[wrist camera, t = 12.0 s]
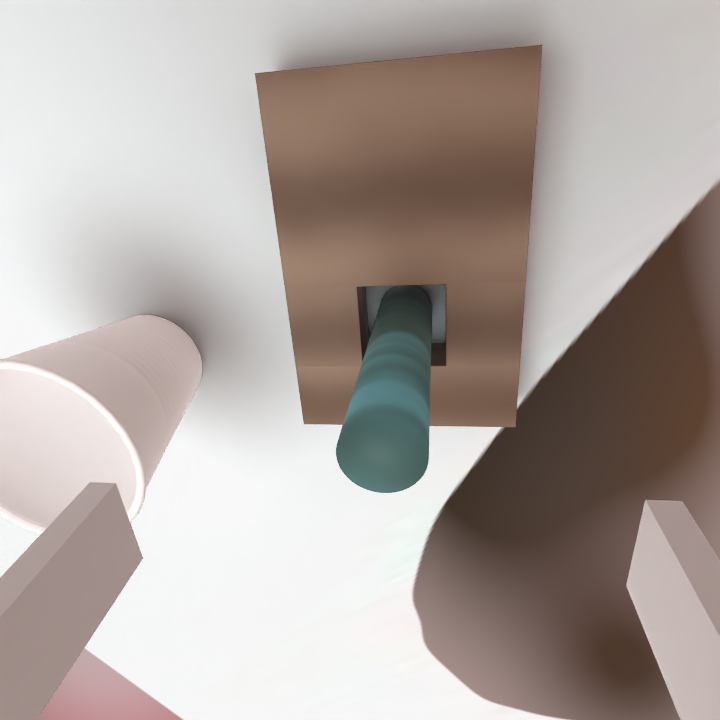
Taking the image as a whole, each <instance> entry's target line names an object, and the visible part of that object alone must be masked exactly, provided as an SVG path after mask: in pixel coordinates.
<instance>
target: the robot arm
mask: <svg viewBox="0 0 720 720" xmlns="http://www.w3.org/2000/svg"><path fill="white" fill-rule="evenodd" d="M142 559H143V557H142V554H141V552H140V549H139V546H138V543H137V540H136V538H135V535H134V532H133V529H132V527H131V524H130V521H129V518H128V515H127V513H126V510H125V507H124V504H123V502H122V499H121V496H120V493H119V490H118V488H117V485H116V483H101V482H89V483H88V485H87V486H86V487H85V488H84V489H83V490H82V491H81V492H80V493H79V494H78V495H77V496H76V497H75V498H74V500H73V501H72V502H71V503H70V504H69V505H68V506H67V507H66V508H65V509H64V510H63V511H62V512H61V513H60V515H59V516H58V517H57V518H56V519H55V520H54V521H53V522H52V523H51V524H50V525H49V526H48V527H47V528H46V530H45V531H44V532H43V533H42V534H41V535H40V536H39V537H38V538H37V539H36V540H35V541H34V542H33V543H32V545H31V546H30V547H29V548H28V549H27V550H26V551H25V552H24V553H23V554H22V555H21V556H20V557H19V558H18V560H17V561H16V562H15V563H14V564H13V565H12V566H11V567H10V568H9V569H8V570H7V571H6V572H5V573H4V575H3V576H2V577H1V578H0V720H37V719H38V717H39V716H40V714H41V713H42V711H43V710H44V708H45V707H46V705H47V704H48V702H49V701H50V699H51V698H52V696H53V695H54V693H55V692H56V690H57V689H58V687H59V685H60V684H61V682H62V681H63V679H64V678H65V676H66V675H67V673H68V672H69V670H70V669H71V667H72V666H73V664H74V663H75V661H76V660H77V658H78V656H79V655H80V653H81V652H82V650H83V649H84V647H85V646H86V644H87V643H88V641H89V640H90V638H91V637H92V635H93V634H94V632H95V631H96V629H97V627H98V626H99V624H100V623H101V621H102V620H103V618H104V617H105V615H106V614H107V612H108V611H109V609H110V608H111V606H112V605H113V603H114V602H115V600H116V598H117V597H118V595H119V594H120V592H121V591H122V589H123V588H124V586H125V585H126V583H127V582H128V580H129V579H130V577H131V576H132V574H133V572H134V571H135V569H136V568H137V566H138V565H139V563H140V562H141V560H142ZM626 586H627V589H628V591H629V594H630V596H631V598H632V601H633V603H634V606H635V608H636V611H637V613H638V616H639V618H640V621H641V623H642V625H643V628H644V631H645V633H646V636H647V638H648V640H649V643H650V645H651V648H652V650H653V653H654V655H655V658H656V660H657V663H658V665H659V667H660V670H661V672H662V675H663V677H664V680H665V682H666V685H667V687H668V690H669V692H670V695H671V697H672V700H673V702H674V705H675V707H676V709H677V712H678V714H679V717H680V719H681V720H720V560H719V559H718V557H717V555H716V554H715V552H714V551H713V549H712V547H711V546H710V544H709V543H708V541H707V540H706V538H705V537H704V535H703V533H702V532H701V530H700V529H699V527H698V526H697V524H696V522H695V521H694V519H693V518H692V516H691V515H690V513H689V511H688V510H687V508H686V507H685V505H684V503H683V502H682V501H660V500H645V504H644V508H643V513H642V518H641V522H640V526H639V531H638V535H637V540H636V544H635V549H634V553H633V558H632V562H631V566H630V571H629V575H628V580H627V584H626Z"/></svg>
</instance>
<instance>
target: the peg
mask: <svg viewBox="0 0 720 720" xmlns="http://www.w3.org/2000/svg"><path fill="white" fill-rule="evenodd" d="M431 337H432V304H431V301H430V299H429V297H428V296H427V294H426V293H425V292H424V291H423V290H421V289H420V288H418V287H415V286H412V285H399V286H396V287H394V288H392V289H390V290H389V291H388V292H387V293H386V294H385V295H384V297H383V298H382V300H381V303H380V307H379V310H378V313H377V316H376V320H375V323H374V326H373V329H372V333H371V336H370V339H369V342H368V346H367V349H366V352H365V355H364V358H363V362H362V365H361V368H360V371H359V375H358V378H357V381H356V384H355V388H354V391H353V394H352V397H351V401H350V404H349V407H348V410H347V414H346V417H345V420H344V423H343V427H342V430H341V433H340V436H339V440H338V443H337V448H336V456H337V460H338V463H339V466H340V468H341V470H342V471H343V472H344V474H345V475H346V476H347V477H348V478H349V479H350V480H351V481H352V482H354V483H355V484H357V485H358V486H360V487H362V488H365V489H367V490H370V491H374V492H381V493H391V492H398V491H402V490H404V489H407V488H409V487H411V486H412V485H414V484H415V483H416V482H418V481H419V480H420V479H421V477H422V476H423V475H424V473H425V471H426V469H427V465H428V458H429V419H430V378H431Z"/></svg>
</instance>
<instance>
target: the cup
mask: <svg viewBox="0 0 720 720" xmlns="http://www.w3.org/2000/svg"><path fill="white" fill-rule="evenodd" d="M202 372H203V371H202V360H201V356H200V353H199V351H198V349H197V347H196V345H195V343H194V342H193V340H192V339H191V338H190V337H189V335H188V334H187V333H186V332H185V331H184V330H182V329H181V328H180V327H179V326H177V325H176V324H174V323H172V322H171V321H169V320H167V319H164V318H161V317H158V316H152V315H137V316H134V317H130V318H127V319H124V320H121V321H118V322H115V323H112V324H109V325H106V326H103V327H100V328H97V329H94V330H91V331H88V332H85V333H82V334H79V335H76V336H73V337H71V338H67V339H64V340H61V341H58V342H55V343H52V344H49V345H45V346H42V347H39V348H36V349H33V350H30V351H27V352H24V353H21V354H18V355H15V356H12V357H9V358H6V359H0V515H2V516H3V517H5V518H6V519H8V520H10V521H11V522H13V523H15V524H17V525H19V526H21V527H23V528H25V529H28V530H30V531H32V532H35V533H38V534H42V533H43V532H44V531H45V530H46V528H47V527H48V526H49V525H50V524H51V523H52V522H53V521H54V520H55V519H56V518H57V517H58V516H59V515H60V513H61V512H62V511H63V510H64V509H65V508H66V507H67V506H68V505H69V504H70V503H71V502H72V501H73V500H74V498H75V497H76V496H77V495H78V494H79V493H80V492H81V491H82V490H83V489H84V488H85V487H86V486H87V485H88V483H89V482H101V483H116V485H117V488H118V490H119V493H120V496H121V499H122V502H123V504H124V507H125V510H126V513H127V515H128V518H129V521H130V523H131V521H132V520H133V519H134V518H135V517H136V516H137V514H138V513H139V511H140V509H141V506H142V504H143V502H144V499H145V492H146V487H147V485H148V483H149V482H150V480H151V478H152V476H153V474H154V472H155V470H156V468H157V466H158V464H159V462H160V460H161V458H162V456H163V453H164V452H165V450H166V447H167V446H168V444H169V442H170V440H171V438H172V436H173V434H174V432H175V430H176V428H177V426H178V424H179V422H180V420H181V419H182V416H183V414H184V413H185V410H186V409H187V407H188V405H189V403H190V401H191V399H192V397H193V395H194V393H195V392H196V390H197V388H198V386H199V383H200V381H201V377H202Z"/></svg>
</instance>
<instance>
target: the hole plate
mask: <svg viewBox="0 0 720 720" xmlns="http://www.w3.org/2000/svg"><path fill="white" fill-rule="evenodd" d="M541 54H542V45H537V46H527V47H516V48H506V49H496V50H486V51H476V52H466V53H456V54H446V55H436V56H426V57H416V58H405V59H395V60H385V61H375V62H365V63H355V64H345V65H335V66H325V67H315V68H305V69H294V70H284V71H274V72H264V73H255V77H256V84H257V91H258V98H259V105H260V113H261V120H262V127H263V134H264V141H265V148H266V156H267V163H268V170H269V177H270V184H271V191H272V199H273V206H274V213H275V220H276V227H277V234H278V242H279V249H280V256H281V263H282V270H283V277H284V285H285V292H286V299H287V306H288V313H289V320H290V328H291V335H292V342H293V349H294V356H295V363H296V370H297V378H298V385H299V392H300V399H301V406H302V413H303V421H304V424H337V425H343V423H344V420H345V417H346V414H347V410H348V407H349V404H350V401H351V397H352V394H353V391H354V388H355V384H356V381H357V378H358V375H359V371H360V368H361V365H362V362H363V358H364V355H365V352H366V349H367V346H368V342H369V334H368V319H367V305H366V290H365V286H397V285H431V284H446V344H431V378H430V419H429V426H479V427H515V425H516V411H517V397H518V383H519V368H520V354H521V340H522V325H523V311H524V297H525V283H526V268H527V254H528V240H529V225H530V211H531V197H532V182H533V168H534V154H535V139H536V125H537V111H538V97H539V82H540V68H541Z"/></svg>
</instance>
